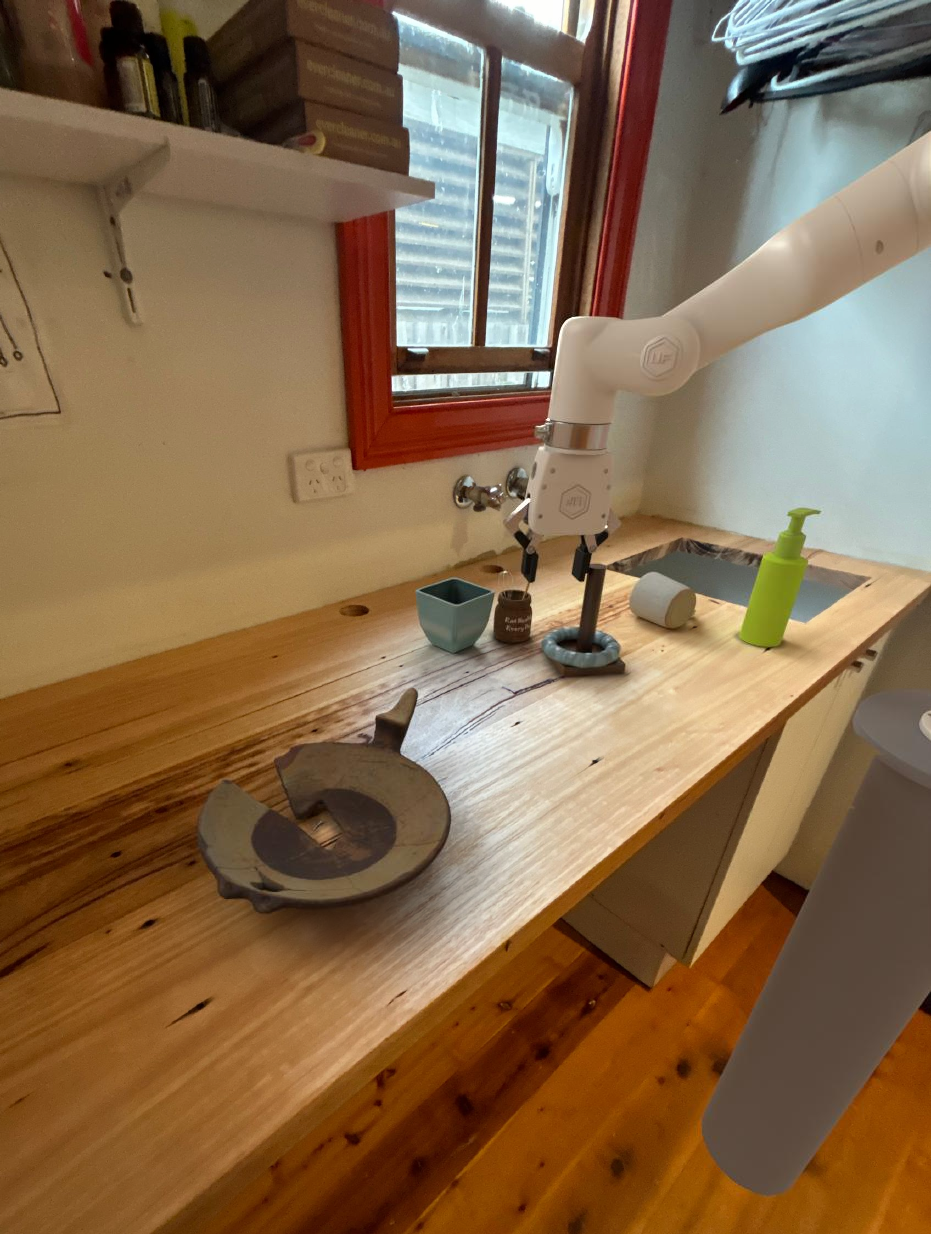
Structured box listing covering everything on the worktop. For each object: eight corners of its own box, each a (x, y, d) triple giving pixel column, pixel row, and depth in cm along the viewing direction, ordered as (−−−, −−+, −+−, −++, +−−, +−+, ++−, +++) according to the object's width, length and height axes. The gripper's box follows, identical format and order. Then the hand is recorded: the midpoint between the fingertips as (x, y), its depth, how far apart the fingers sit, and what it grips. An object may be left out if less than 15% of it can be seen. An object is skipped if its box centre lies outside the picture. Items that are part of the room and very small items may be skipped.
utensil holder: (485, 632, 99) (490, 560, 93) (518, 625, 101) (525, 555, 95) (504, 646, 95) (511, 572, 89) (538, 639, 97) (547, 566, 91)
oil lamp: (155, 849, 57) (136, 785, 53) (389, 727, 75) (387, 672, 71) (292, 1010, 44) (280, 940, 40) (539, 814, 61) (547, 752, 57)
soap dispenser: (792, 639, 96) (837, 510, 86) (766, 650, 93) (810, 517, 83) (756, 627, 100) (795, 502, 90) (731, 636, 97) (768, 509, 87)
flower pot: (492, 645, 95) (497, 590, 91) (454, 662, 90) (456, 605, 86) (451, 628, 101) (453, 576, 96) (413, 644, 96) (413, 590, 91)
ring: (601, 635, 95) (603, 623, 94) (631, 667, 85) (634, 654, 84) (532, 638, 94) (533, 626, 93) (555, 672, 84) (557, 659, 83)
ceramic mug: (664, 635, 98) (675, 589, 94) (624, 618, 104) (633, 574, 100) (705, 622, 102) (718, 578, 98) (665, 606, 108) (675, 564, 105)
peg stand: (599, 646, 95) (615, 554, 87) (624, 673, 87) (643, 575, 79) (543, 649, 94) (554, 557, 86) (563, 677, 86) (577, 578, 79)
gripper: (516, 441, 69) (498, 590, 79) (658, 443, 72) (624, 587, 81) (499, 431, 76) (484, 570, 85) (630, 433, 78) (602, 568, 87)
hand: (553, 577), depth 83 cm, fingers open, 6 cm apart
